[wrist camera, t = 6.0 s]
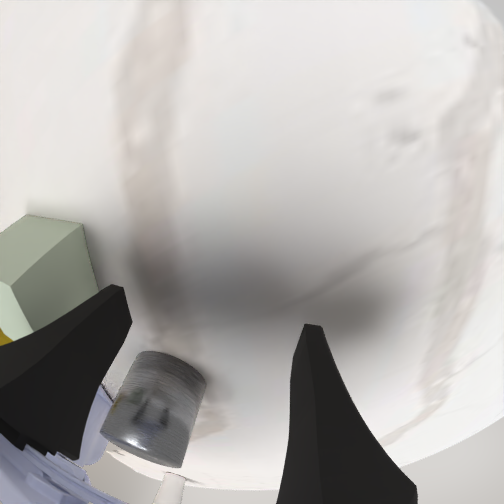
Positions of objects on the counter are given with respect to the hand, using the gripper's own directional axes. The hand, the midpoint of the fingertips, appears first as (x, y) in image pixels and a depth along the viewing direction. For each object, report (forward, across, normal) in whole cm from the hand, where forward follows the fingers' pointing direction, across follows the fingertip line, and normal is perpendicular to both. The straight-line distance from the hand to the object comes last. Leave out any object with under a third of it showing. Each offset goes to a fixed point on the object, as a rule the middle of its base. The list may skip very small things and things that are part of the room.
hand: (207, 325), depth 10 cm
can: (+2, +3, +8) cm, 9 cm away
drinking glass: (+2, +11, +65) cm, 66 cm away
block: (+2, +9, 0) cm, 9 cm away
